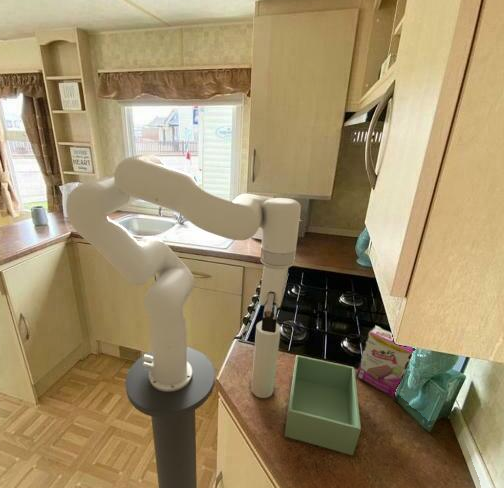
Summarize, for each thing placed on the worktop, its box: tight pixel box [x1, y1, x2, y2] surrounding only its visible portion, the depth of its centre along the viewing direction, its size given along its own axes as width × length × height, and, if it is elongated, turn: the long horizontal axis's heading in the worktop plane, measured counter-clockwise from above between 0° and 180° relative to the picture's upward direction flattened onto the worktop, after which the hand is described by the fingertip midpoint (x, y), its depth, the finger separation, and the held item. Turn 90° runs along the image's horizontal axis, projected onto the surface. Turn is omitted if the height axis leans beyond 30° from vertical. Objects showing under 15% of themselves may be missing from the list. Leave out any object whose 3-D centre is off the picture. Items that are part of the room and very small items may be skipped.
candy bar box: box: [355, 325, 417, 399], centre depth 86 cm, size 11×5×16 cm, turn 44°
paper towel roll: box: [250, 320, 282, 399], centre depth 82 cm, size 7×6×21 cm
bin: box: [284, 354, 362, 456], centre depth 78 cm, size 15×19×9 cm
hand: (271, 319), depth 77 cm, fingers open, 9 cm apart
